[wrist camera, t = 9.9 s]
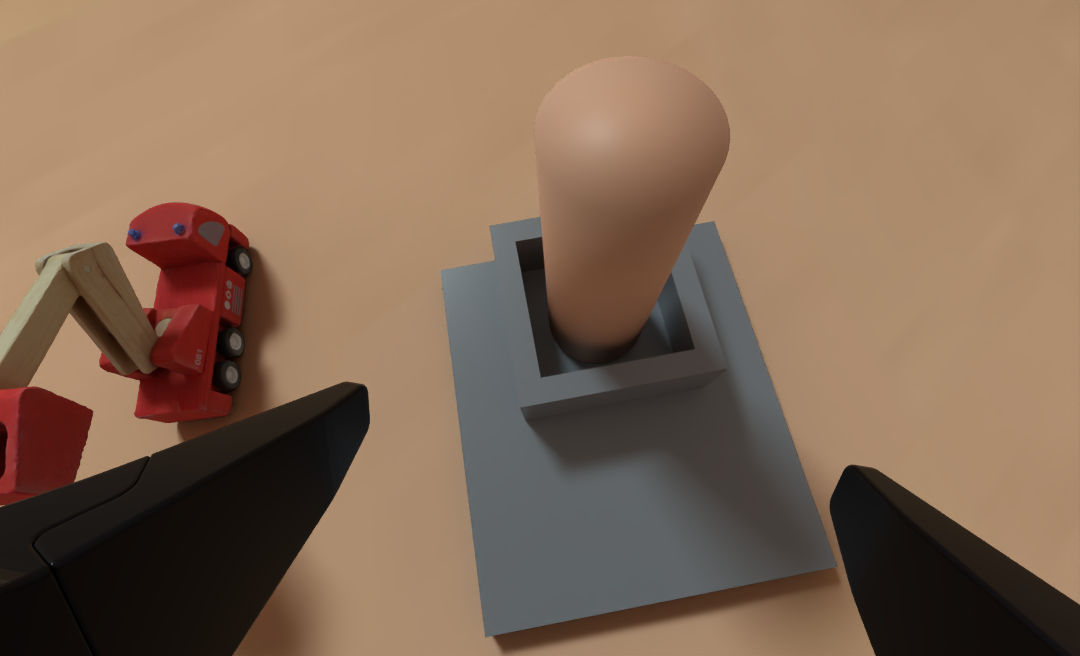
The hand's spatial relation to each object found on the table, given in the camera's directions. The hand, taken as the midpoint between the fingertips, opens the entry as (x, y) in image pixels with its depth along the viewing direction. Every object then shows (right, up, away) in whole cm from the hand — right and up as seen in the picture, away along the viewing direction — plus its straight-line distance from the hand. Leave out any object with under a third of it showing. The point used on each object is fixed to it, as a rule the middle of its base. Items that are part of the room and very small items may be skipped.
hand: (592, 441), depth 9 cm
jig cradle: (+2, -1, +13) cm, 14 cm away
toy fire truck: (-17, +1, +15) cm, 23 cm away
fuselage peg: (+2, +3, +14) cm, 14 cm away
